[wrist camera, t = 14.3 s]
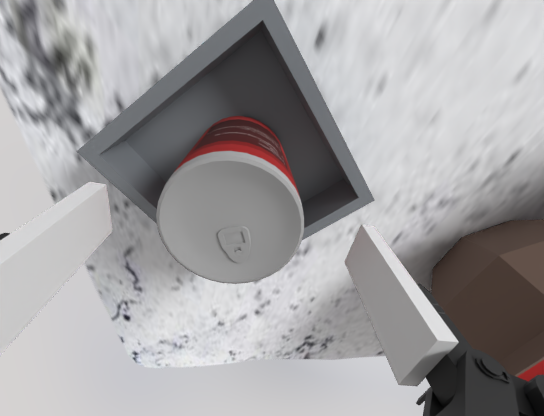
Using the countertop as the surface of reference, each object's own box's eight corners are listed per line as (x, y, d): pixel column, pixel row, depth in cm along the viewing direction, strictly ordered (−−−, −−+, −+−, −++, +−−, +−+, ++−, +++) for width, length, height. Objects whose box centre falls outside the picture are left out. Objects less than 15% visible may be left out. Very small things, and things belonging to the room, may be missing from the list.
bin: (353, 177, 25) (374, 200, 20) (228, 250, 28) (223, 283, 24) (264, 7, 18) (267, -12, 13) (112, 134, 21) (76, 151, 17)
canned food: (226, 210, 25) (208, 300, 15) (180, 138, 21) (117, 197, 11) (297, 180, 23) (325, 257, 14) (261, 97, 20) (267, 125, 10)
